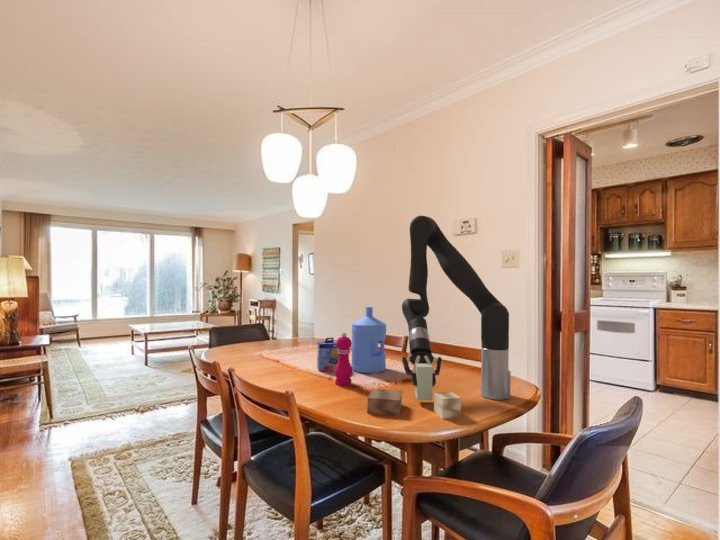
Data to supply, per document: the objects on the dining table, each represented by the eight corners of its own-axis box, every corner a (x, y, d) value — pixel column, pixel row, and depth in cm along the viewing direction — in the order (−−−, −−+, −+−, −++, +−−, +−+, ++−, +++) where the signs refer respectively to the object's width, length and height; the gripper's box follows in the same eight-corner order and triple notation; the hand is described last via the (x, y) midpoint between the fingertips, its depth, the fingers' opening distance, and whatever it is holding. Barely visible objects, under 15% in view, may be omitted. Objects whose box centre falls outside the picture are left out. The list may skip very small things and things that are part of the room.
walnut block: (401, 405, 127) (401, 390, 127) (399, 416, 117) (399, 400, 117) (371, 403, 129) (371, 388, 129) (367, 414, 119) (367, 397, 119)
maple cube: (451, 410, 122) (451, 391, 122) (460, 417, 116) (460, 397, 116) (433, 412, 121) (434, 393, 121) (442, 419, 115) (442, 399, 115)
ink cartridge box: (318, 371, 168) (319, 338, 168) (316, 368, 173) (316, 336, 174) (340, 370, 171) (341, 337, 171) (337, 367, 176) (338, 335, 177)
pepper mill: (336, 386, 146) (336, 334, 146) (332, 381, 153) (333, 331, 153) (354, 385, 148) (355, 333, 148) (350, 380, 155) (350, 331, 155)
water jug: (346, 371, 168) (347, 308, 168) (357, 364, 183) (358, 305, 183) (380, 375, 163) (381, 309, 163) (389, 367, 178) (390, 306, 178)
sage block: (430, 395, 131) (429, 363, 131) (432, 400, 126) (432, 366, 126) (415, 395, 131) (415, 363, 131) (417, 400, 126) (417, 366, 126)
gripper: (400, 336, 137) (403, 379, 124) (440, 336, 136) (448, 379, 124) (399, 348, 142) (402, 391, 130) (438, 348, 142) (444, 391, 129)
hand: (424, 385), depth 127 cm, fingers closed on sage block, 5 cm apart
